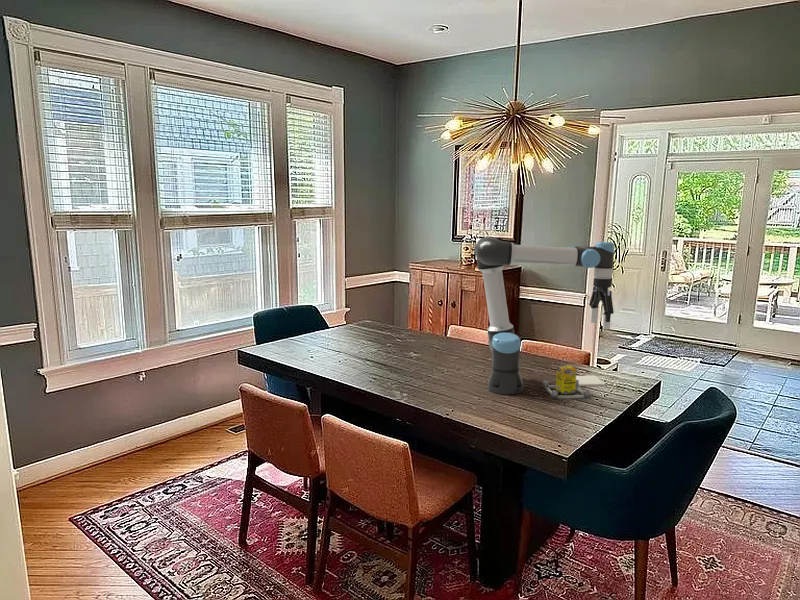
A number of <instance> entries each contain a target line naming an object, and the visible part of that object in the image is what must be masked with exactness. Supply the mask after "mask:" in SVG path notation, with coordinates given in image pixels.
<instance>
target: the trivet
mask: <svg viewBox="0 0 800 600" xmlns="http://www.w3.org/2000/svg"><path fill="white" fill-rule="evenodd" d="M576 380H579V387H593V386H594V387H599V386H600V387H603V386H605V387H606V383H605V382H604V381H603V380H601V378H599V377H598V376H596V375H576Z"/></svg>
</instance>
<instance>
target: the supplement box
mask: <svg viewBox="0 0 800 600" xmlns="http://www.w3.org/2000/svg"><path fill="white" fill-rule="evenodd" d="M576 376H577V368H575V367H573V366H571V365H569V364H568V365H559V366H558V365H557V366H556V374H555V378H556V379H555V385H556V388H555V390H557V391H558V394H560V395H576V388H575V387H576Z"/></svg>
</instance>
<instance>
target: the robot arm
mask: <svg viewBox="0 0 800 600" xmlns="http://www.w3.org/2000/svg"><path fill="white" fill-rule="evenodd" d="M474 254H475V257H476V262H477V269H478V271H480V272H481V273H482V278H483V279H482V280H483V287H484V293H485V301H486V306H487V308H486V309H487V313H488V320H489V321H488V322H489V326H488V327H487V329H486V331H487V336H488V342H487V343H488V346H489V349H490V351H491V373H490V376H489V379H488V381H487V390H488V391H490V392H492V393H495V394H499V395H516V394H520V393H522V392H523V391H524V382H523V379H522V375H521V371H520V367H521V366H520V365H521V364H520V363H521V347H522V346H521V345H522V343H521V338H520V337H519V336H518V334H515V328H514V325H513V324H512V323H511V322H510V318H509V310H508V304H507V296H506V289H505V284H504V283H505V282H504V275H503V269H504V267H506V266H511V265H512V264H524V265H525V264H526V265H527V264H529V265H545V266H546V265H547V266H548V265H549V266H565V267H566V266H567V267H583V268H586V269H589V268H590V269H591V268H592V269H593V277H594V278H593V287H592V293H591V296H590V300H589V303H588V304H589V305H588V306H590V308H591V309H590V323H591V324H598V311H599V310H598V309H599V304H600V302H601V303H602V307H603V322H602V330H610V329H611V316H612V314H614V305H613V304H614V303H613V297H612V294H613V293H612V290H609V288H612V286H613V285H612V284H613V279H612V278H613V273H614V270H613V269H614V268H613V267H614V260H615V259H614V258H615V257H614V256H615V244H614V242H612V241H597V242H596V243H595V245H594V246H580V245H578V246H577V245H576V246H574V245H573V246H567V247H565V246H547V245H545V246H543V245H531V244H530V245H528V244H527V245H525V244H515V243H514V242H512V241H503V240H500V239H498V238H496V237H494V236H484V237H482V238H480V239H479V240H478V241H477V242H476V244H475V247H474Z"/></svg>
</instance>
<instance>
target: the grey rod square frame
mask: <svg viewBox="0 0 800 600" xmlns="http://www.w3.org/2000/svg"><path fill="white" fill-rule="evenodd" d="M549 383H550V381H549V380H545V379H544V380H542V389H545V390H546V391H547V393H548V394H549V395H550V396H551V399H553V400H558V399H590V397H591V395H590V394H591V391H590V389H582V388H581V386H579V380H576V387H575V390H577V392H578V393H580V394H569V395H562V394H560V395H559V393H558V391H557V390H556V384H549ZM551 389H553V390H551Z"/></svg>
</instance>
